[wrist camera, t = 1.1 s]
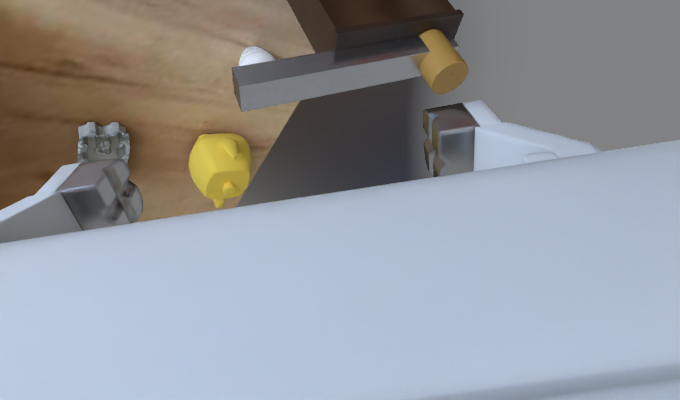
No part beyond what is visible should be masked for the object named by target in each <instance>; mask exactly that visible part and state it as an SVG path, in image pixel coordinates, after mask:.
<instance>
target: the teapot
mask: <svg viewBox="0 0 680 400" xmlns="http://www.w3.org/2000/svg"><path fill="white" fill-rule="evenodd" d="M189 170H190V173H191V176H192V179H193V181H194V183H195V184H196V186H197V187H198V188H199V190H200V191H201V192H202V193H203V194H204V195H205V196H206V197H207V198H209V199H213V200H214V205H215V207H217V208H221V207H222V206H223V205H224V202H225V199H226V198H231V197H237V196H239V195H241V194H242V193H243V192H244V190H245V189H246V187H247V185H248V183H249V179H250V172H251V154H250V148H249V145H248V142H247V141H246V140H245V139H244V138H243V137H242V136H240V135H238V134H233V133H232V134H228V133H221V134H208V135H207V134H202V135H200V136H199V137H198V140H197V141H196V143H195V145H194V147H193V149H192V151H191V154H190V157H189Z"/></svg>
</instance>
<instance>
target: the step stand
mask: <svg viewBox="0 0 680 400" xmlns="http://www.w3.org/2000/svg"><path fill="white" fill-rule="evenodd" d="M287 1H288V3H289V5H290V6H291V8H292V10H293V12H294V14H295V16H296V18H297V19H298V21H299V23H300V25H301V27H302V29H303V31H304V32H305V34H306V36H307V38H308V40H309V42H310V44H311V45H312V47H313V49H314V51H315V53H320V52H326V51H332V50H338V49H344V48H350V47H356V46H362V45H367V44H373V43H379V42H385V41H391V40H397V39H403V38H409V37H414V36H419V35H421V34H422V33H424V32H426V31H428V30H432V29H437V30H440V31H441V32H444V31H448V32H449V34H450V35H451V36H452V38H453V39H454V38H455V35H456V33H457V30H458V27H459V25H460V22H461V20H462V17H463V15H464V14H463V13H462V11H461V10H455V9H454V8H453V7H452V5H451V4H450V3H449V2H448V0H287Z"/></svg>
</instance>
